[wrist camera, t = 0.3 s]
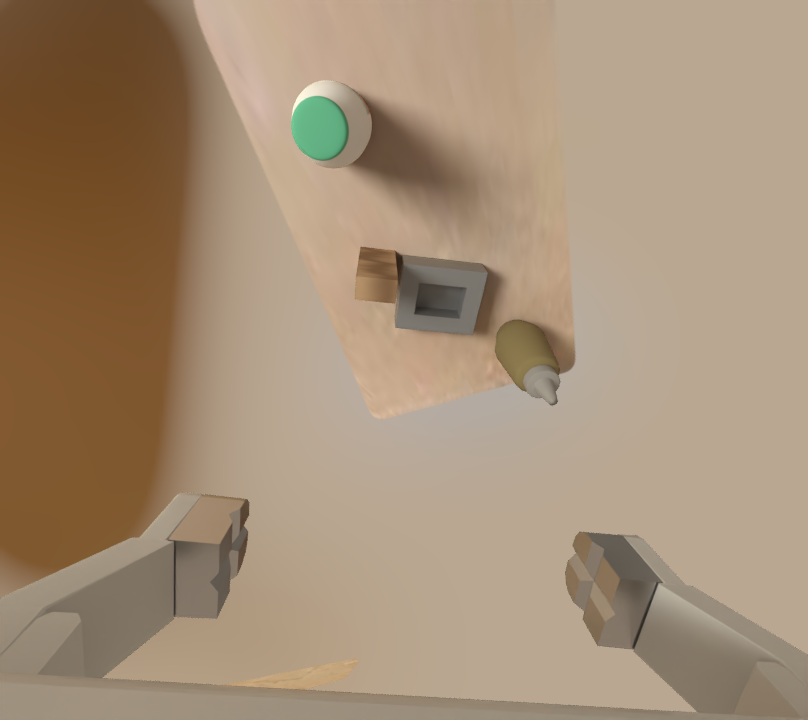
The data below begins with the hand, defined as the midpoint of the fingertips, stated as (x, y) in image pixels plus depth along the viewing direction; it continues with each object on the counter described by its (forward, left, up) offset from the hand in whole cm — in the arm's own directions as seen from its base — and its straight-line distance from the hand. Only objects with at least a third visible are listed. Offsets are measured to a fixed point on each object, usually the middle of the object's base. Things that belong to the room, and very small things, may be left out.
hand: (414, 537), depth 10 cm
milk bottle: (-1, -9, -51) cm, 52 cm away
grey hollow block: (+5, +16, -51) cm, 54 cm away
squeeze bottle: (+1, +31, -51) cm, 60 cm away
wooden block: (+8, +6, -51) cm, 52 cm away
